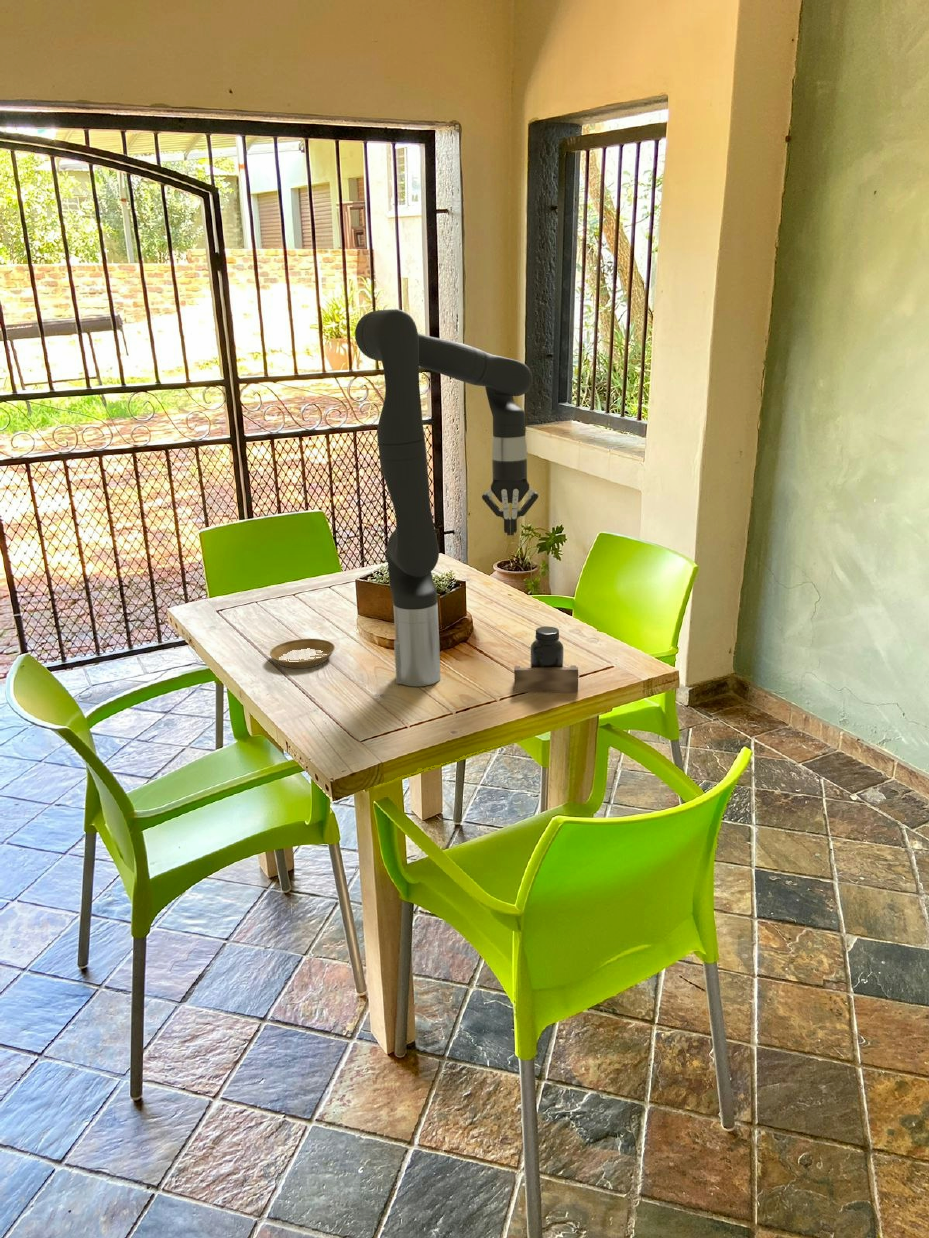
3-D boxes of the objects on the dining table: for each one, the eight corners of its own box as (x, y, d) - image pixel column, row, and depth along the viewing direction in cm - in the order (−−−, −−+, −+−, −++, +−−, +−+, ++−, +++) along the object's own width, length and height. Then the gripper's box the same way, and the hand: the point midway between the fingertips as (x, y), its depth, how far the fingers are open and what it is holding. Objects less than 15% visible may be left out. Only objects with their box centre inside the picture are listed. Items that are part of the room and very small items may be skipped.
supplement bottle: (536, 691, 184) (536, 637, 180) (526, 679, 191) (525, 626, 187) (568, 687, 186) (568, 633, 182) (556, 675, 192) (556, 622, 188)
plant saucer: (257, 666, 203) (255, 655, 202) (297, 645, 215) (296, 634, 214) (309, 676, 196) (308, 665, 195) (348, 653, 209) (347, 643, 208)
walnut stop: (514, 692, 184) (514, 670, 183) (514, 681, 190) (514, 659, 188) (578, 691, 184) (578, 669, 182) (576, 680, 189) (576, 658, 187)
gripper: (478, 460, 191) (480, 539, 196) (540, 459, 190) (540, 538, 196) (479, 454, 198) (481, 531, 203) (539, 453, 197) (539, 530, 203)
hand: (510, 534), depth 200 cm, fingers closed
